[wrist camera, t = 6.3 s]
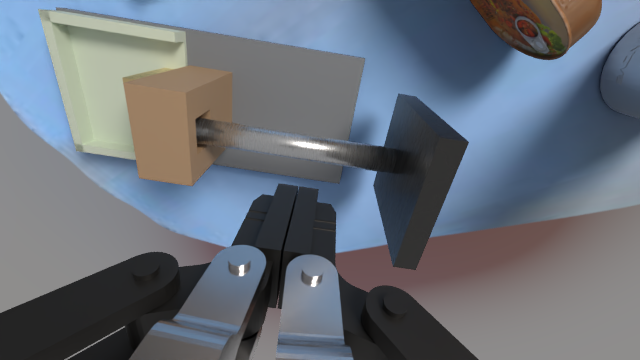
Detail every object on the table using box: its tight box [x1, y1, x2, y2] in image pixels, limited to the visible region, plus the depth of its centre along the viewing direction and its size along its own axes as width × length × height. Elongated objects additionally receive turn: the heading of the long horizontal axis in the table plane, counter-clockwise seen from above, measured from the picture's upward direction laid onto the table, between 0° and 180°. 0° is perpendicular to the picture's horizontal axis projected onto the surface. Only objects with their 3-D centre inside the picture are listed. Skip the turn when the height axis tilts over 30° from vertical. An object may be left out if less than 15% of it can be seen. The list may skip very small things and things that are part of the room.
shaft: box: [195, 94, 469, 270], centre depth 21 cm, size 19×9×11 cm, turn 81°
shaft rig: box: [38, 8, 365, 186], centre depth 25 cm, size 28×13×11 cm, turn 81°
